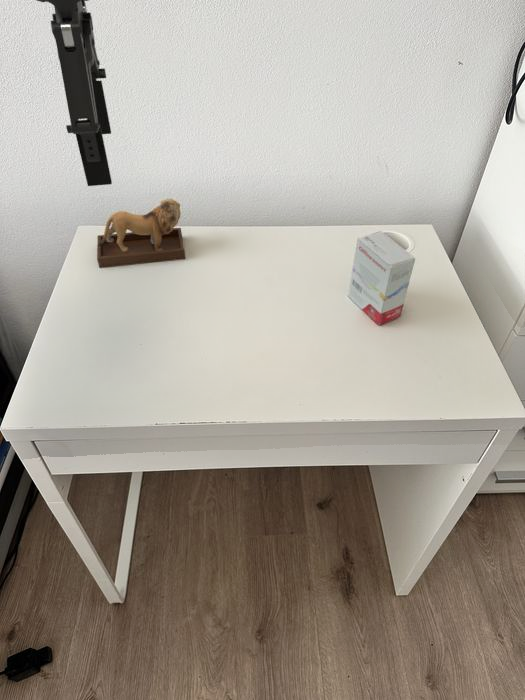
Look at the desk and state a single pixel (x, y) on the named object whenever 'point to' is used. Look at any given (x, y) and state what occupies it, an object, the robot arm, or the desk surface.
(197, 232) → the desk surface
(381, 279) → the ink box
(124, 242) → the tray
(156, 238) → the lion figurine
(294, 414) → the desk surface
